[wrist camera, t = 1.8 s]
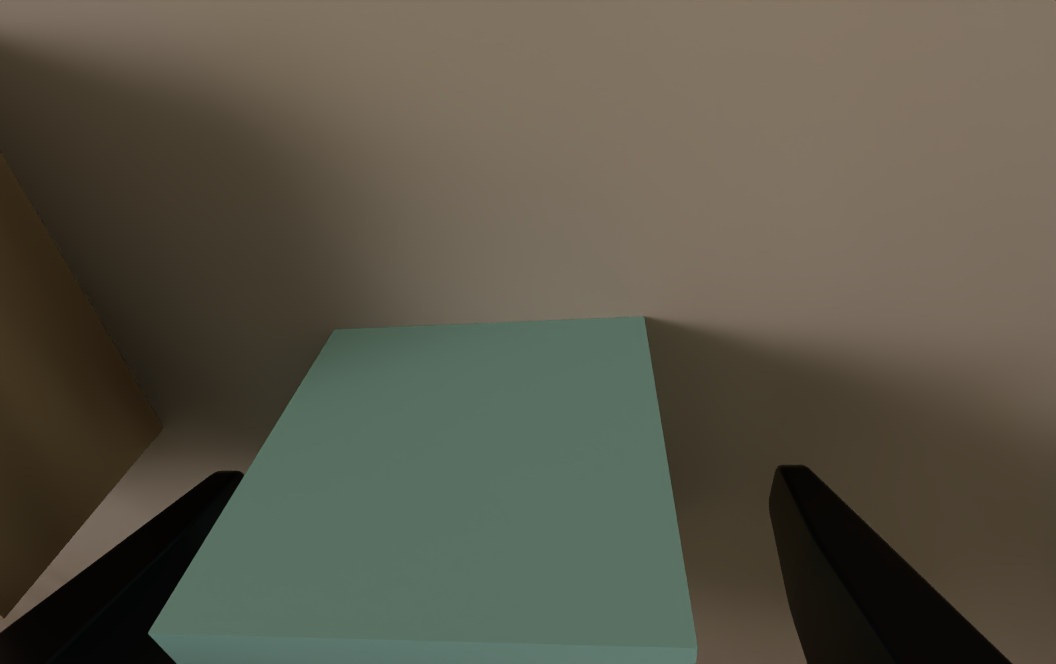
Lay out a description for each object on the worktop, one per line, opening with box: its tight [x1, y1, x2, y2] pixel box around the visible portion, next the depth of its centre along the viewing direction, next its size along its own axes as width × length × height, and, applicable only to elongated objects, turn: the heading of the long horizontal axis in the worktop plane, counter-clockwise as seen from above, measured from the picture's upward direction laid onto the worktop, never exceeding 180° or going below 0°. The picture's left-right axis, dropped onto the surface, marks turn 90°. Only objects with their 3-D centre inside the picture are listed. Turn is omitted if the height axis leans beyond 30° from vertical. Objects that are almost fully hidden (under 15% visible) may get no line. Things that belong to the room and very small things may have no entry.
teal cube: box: [148, 316, 698, 664], centre depth 8 cm, size 5×5×5 cm
